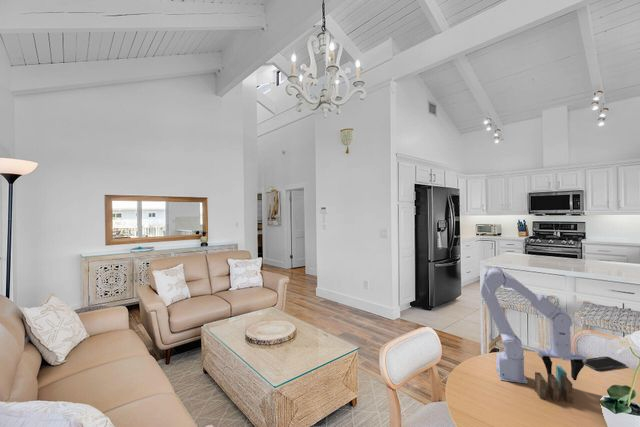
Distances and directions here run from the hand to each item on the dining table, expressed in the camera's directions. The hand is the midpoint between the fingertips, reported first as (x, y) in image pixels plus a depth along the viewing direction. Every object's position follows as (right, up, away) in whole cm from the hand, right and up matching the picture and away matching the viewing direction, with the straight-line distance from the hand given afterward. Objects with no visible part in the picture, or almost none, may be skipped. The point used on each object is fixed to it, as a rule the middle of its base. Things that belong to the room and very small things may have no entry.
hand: (561, 377), depth 114 cm
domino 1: (-11, -5, -4) cm, 12 cm away
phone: (+29, -3, +14) cm, 33 cm away
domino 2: (-7, -4, -5) cm, 10 cm away
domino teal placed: (0, -4, 0) cm, 4 cm away
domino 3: (-3, -4, -6) cm, 8 cm away
